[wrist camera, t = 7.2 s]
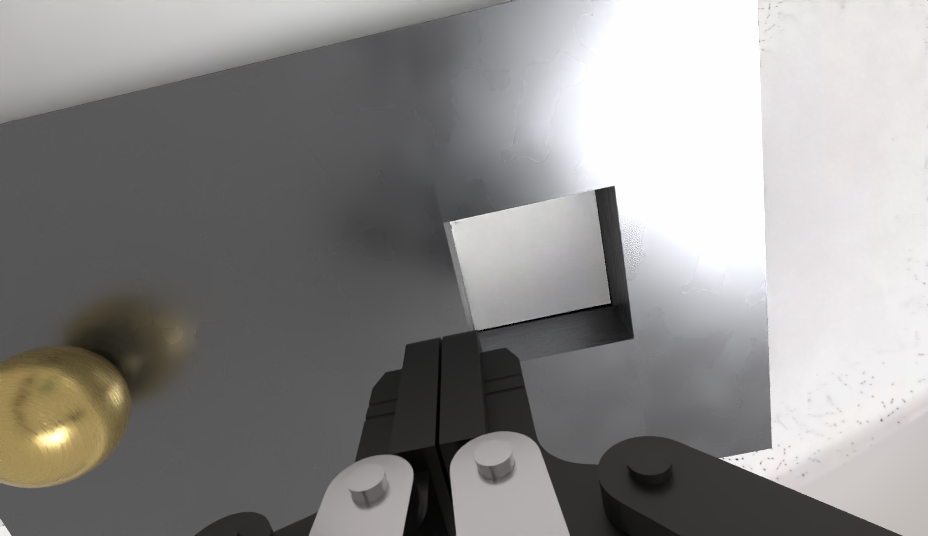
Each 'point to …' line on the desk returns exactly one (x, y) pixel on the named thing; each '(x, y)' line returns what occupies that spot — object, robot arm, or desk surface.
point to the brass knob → (59, 415)
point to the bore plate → (390, 248)
